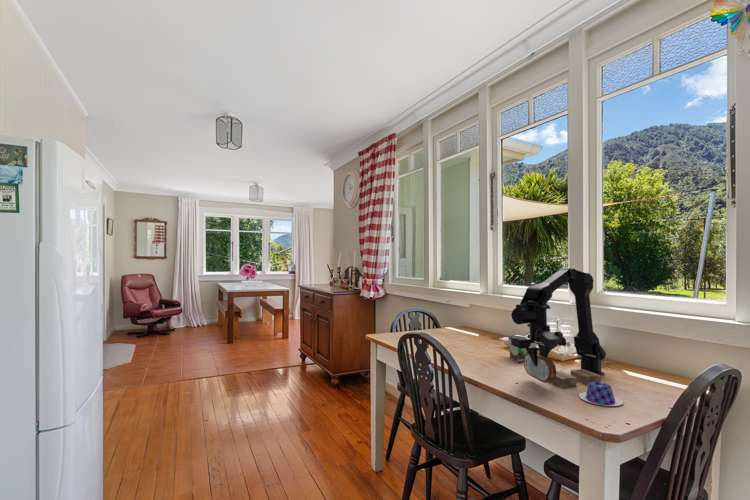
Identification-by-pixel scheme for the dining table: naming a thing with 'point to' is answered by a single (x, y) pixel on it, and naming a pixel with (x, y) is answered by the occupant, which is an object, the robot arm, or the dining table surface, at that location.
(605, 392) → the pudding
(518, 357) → the food container
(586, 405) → the dining table surface
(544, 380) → the tin
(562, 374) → the slotted rail
